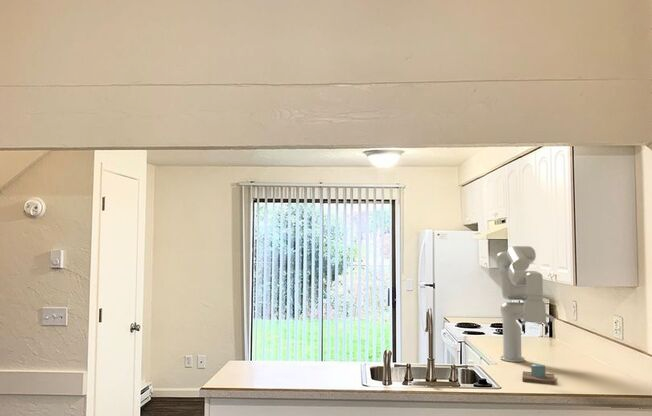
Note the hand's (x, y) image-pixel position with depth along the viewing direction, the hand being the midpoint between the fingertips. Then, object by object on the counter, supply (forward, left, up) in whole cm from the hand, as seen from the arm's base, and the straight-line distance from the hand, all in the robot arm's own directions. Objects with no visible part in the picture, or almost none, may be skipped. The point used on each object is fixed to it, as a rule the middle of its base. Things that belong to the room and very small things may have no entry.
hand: (535, 333), depth 246 cm
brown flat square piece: (+2, +1, -21) cm, 21 cm away
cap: (+2, +1, -19) cm, 20 cm away
